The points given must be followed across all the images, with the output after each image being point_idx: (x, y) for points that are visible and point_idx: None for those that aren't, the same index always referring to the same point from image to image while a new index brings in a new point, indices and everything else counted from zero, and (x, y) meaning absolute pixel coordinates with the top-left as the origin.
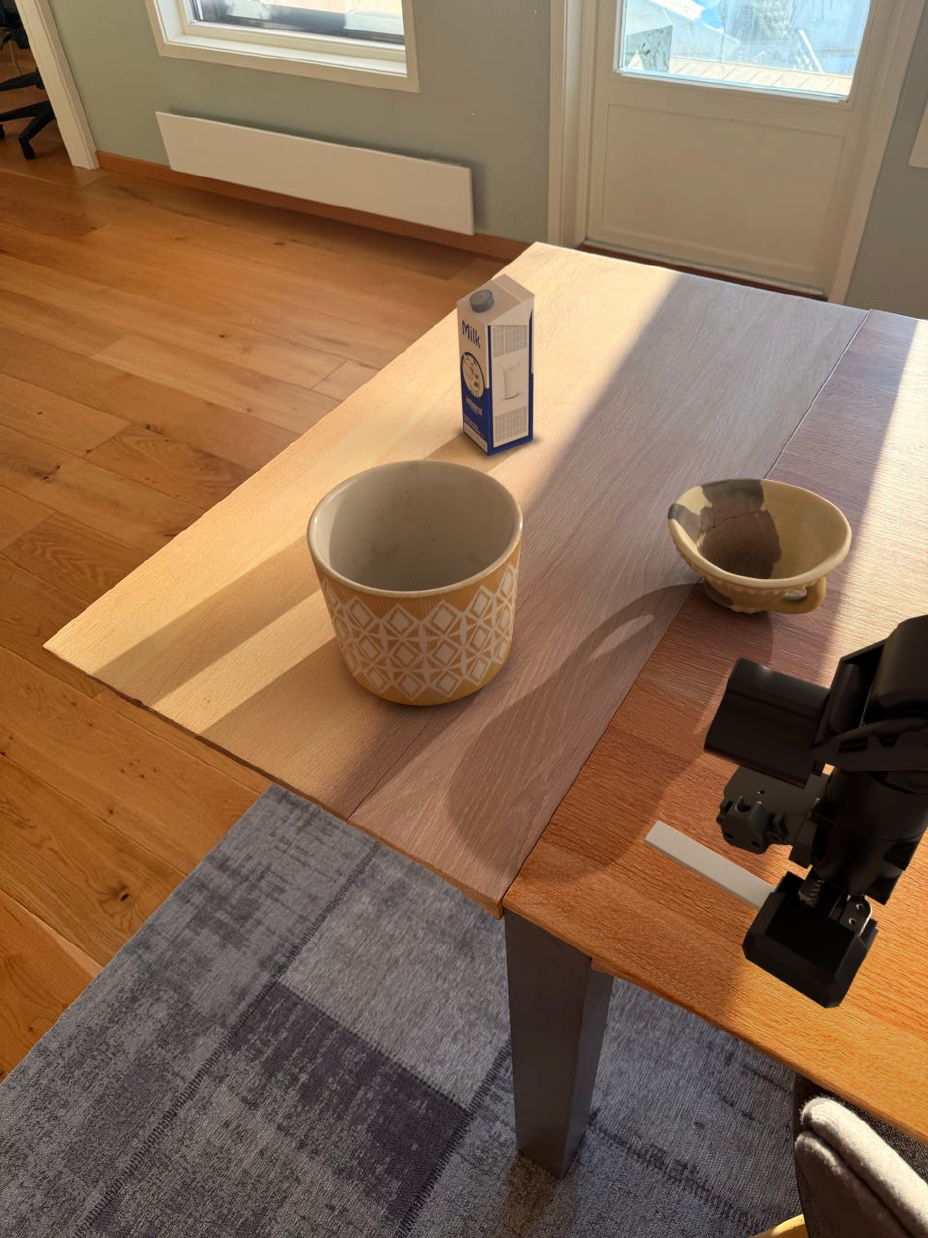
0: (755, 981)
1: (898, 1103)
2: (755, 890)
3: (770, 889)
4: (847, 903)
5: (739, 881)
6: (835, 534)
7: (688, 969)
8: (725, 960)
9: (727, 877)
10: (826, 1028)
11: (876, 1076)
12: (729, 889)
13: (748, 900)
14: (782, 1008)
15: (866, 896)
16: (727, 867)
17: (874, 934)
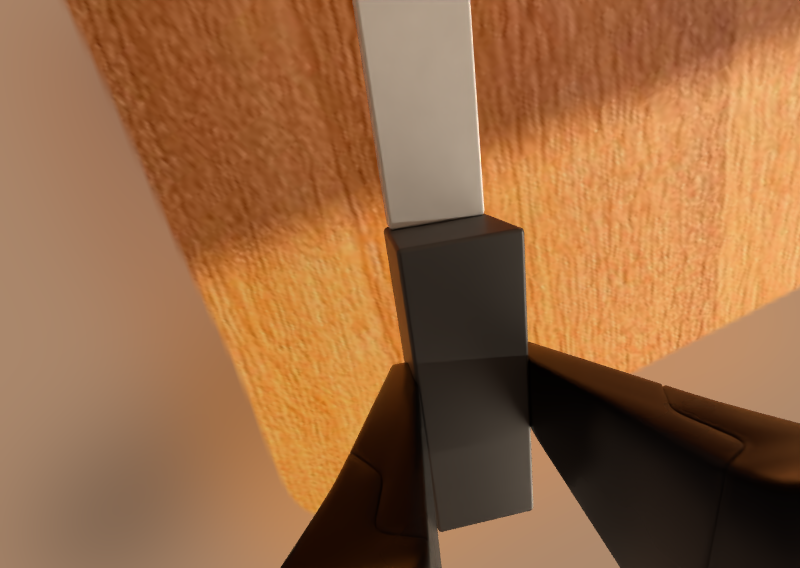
0: (303, 262)
1: (315, 510)
2: (430, 166)
3: (466, 201)
4: (554, 453)
5: (422, 101)
6: None
7: (200, 138)
8: (290, 189)
9: (406, 54)
10: (331, 394)
11: (325, 476)
12: (369, 91)
13: (382, 170)
14: (299, 327)
15: (615, 559)
16: (442, 27)
17: (513, 513)
